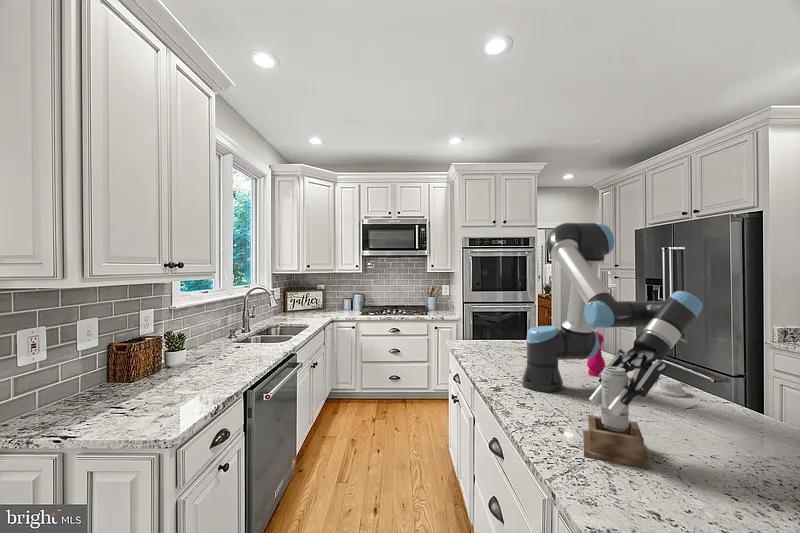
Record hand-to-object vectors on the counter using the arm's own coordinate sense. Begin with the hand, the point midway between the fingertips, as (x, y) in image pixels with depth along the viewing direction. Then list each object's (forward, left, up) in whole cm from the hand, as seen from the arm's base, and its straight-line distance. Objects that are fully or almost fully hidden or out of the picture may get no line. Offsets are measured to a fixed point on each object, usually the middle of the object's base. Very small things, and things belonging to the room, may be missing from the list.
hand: (602, 407), depth 95 cm
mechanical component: (+26, +63, -12) cm, 69 cm away
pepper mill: (+2, +78, -11) cm, 79 cm away
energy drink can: (+3, +2, -6) cm, 7 cm away
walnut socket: (+3, +2, -11) cm, 12 cm away
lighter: (+7, +60, -11) cm, 62 cm away
